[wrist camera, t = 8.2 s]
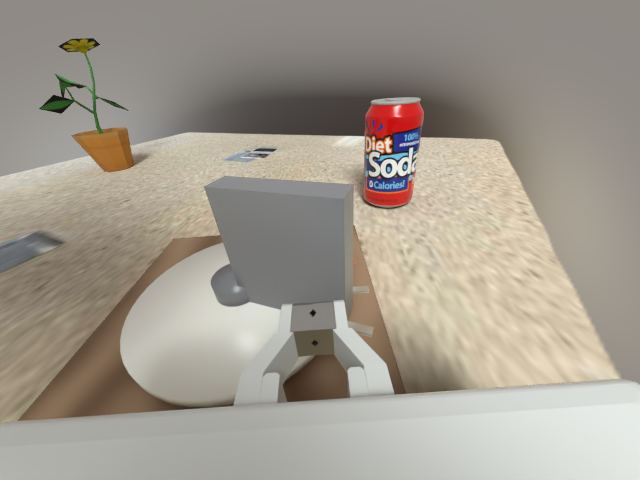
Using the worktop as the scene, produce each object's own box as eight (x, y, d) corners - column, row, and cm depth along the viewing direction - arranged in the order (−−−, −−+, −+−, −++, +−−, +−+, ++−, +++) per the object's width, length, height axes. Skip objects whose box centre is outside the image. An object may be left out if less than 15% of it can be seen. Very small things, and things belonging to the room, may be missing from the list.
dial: (71, 356, 18) (-63, 230, 13) (226, 233, 32) (197, 146, 26) (302, 469, 12) (256, 325, 6) (371, 257, 26) (377, 149, 20)
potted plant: (145, 156, 84) (96, 45, 68) (158, 166, 72) (102, 33, 56) (80, 169, 75) (4, 44, 59) (81, 183, 63) (-13, 29, 46)
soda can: (398, 189, 46) (408, 95, 37) (420, 207, 39) (438, 97, 31) (357, 195, 45) (358, 100, 36) (373, 214, 38) (379, 103, 30)
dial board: (-20, 499, 13) (-48, 489, 12) (178, 248, 34) (172, 237, 33) (421, 469, 13) (426, 457, 12) (354, 234, 33) (354, 223, 32)
